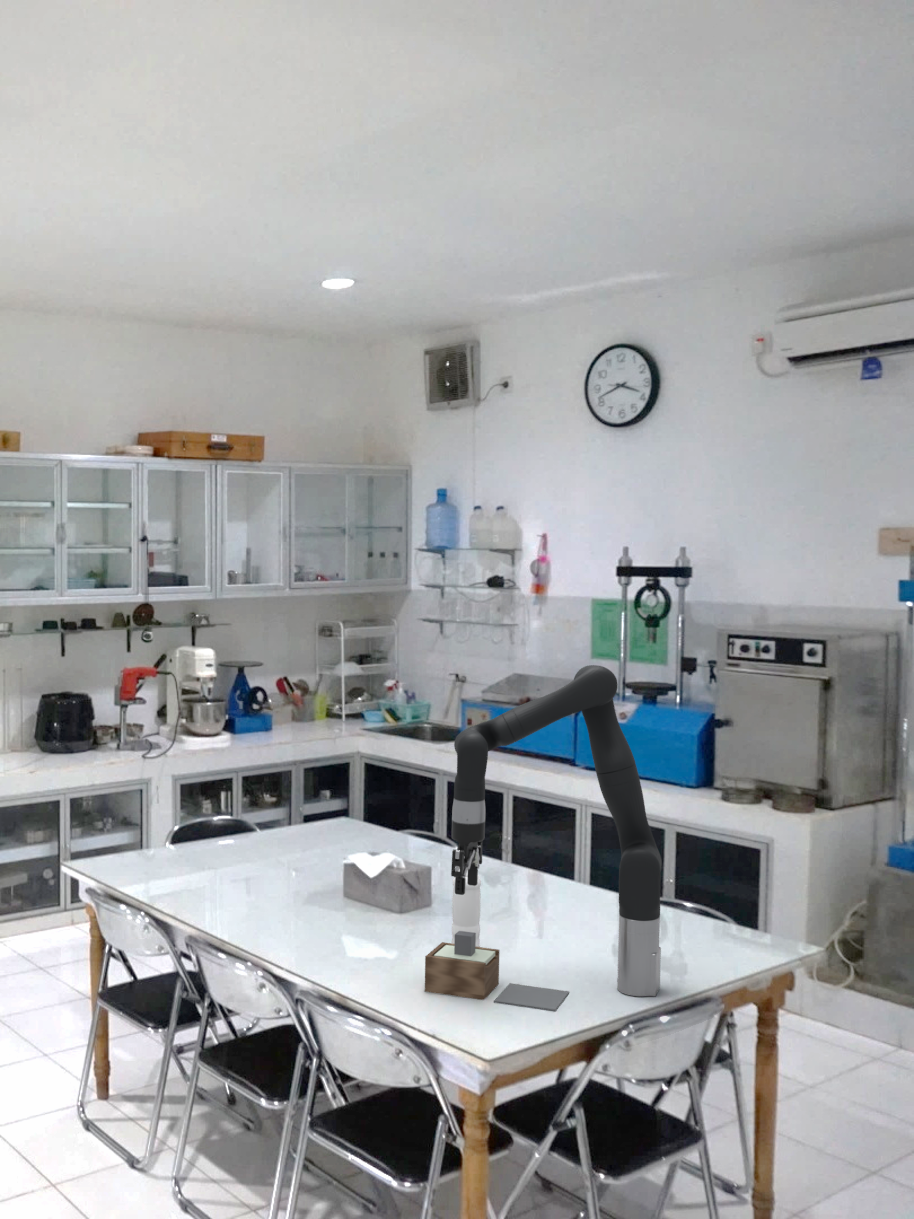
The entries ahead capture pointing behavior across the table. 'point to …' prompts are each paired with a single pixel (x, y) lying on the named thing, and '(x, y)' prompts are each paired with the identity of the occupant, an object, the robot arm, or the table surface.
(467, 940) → the lid
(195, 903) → the table surface
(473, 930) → the water bottle
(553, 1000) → the mat
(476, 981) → the box
